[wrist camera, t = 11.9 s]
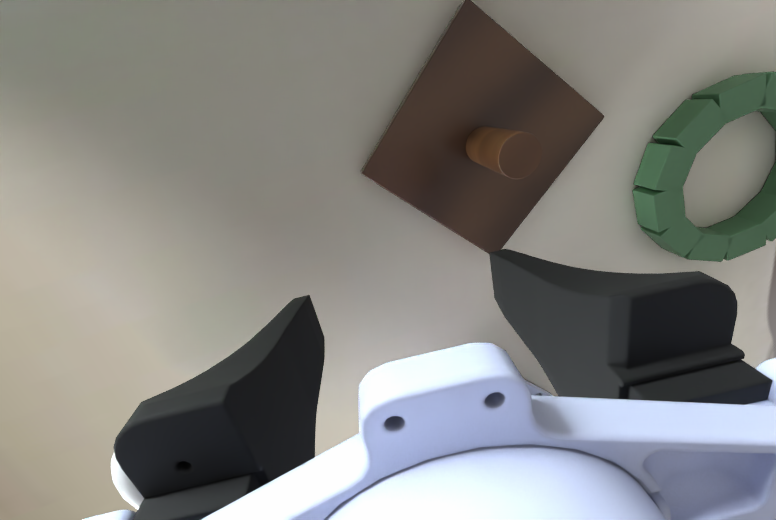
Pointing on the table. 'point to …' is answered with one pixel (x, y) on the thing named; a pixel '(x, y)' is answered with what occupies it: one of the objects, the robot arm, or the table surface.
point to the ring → (673, 162)
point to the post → (480, 132)
